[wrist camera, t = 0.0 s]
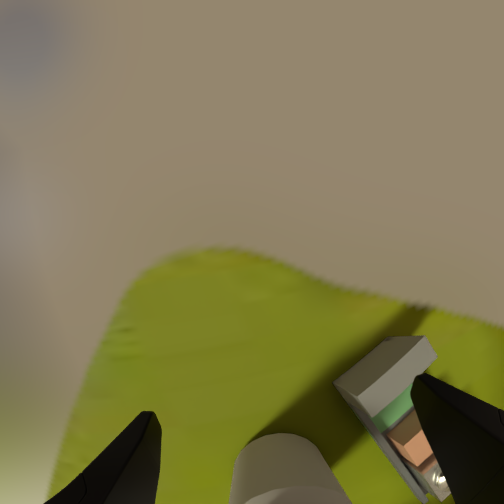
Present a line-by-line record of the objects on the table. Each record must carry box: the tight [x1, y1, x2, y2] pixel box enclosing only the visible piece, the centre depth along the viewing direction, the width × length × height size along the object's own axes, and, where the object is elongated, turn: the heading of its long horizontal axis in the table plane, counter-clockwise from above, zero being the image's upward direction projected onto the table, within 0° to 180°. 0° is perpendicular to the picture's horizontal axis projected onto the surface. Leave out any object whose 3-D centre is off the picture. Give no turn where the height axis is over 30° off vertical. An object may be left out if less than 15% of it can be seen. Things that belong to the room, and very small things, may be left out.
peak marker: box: [386, 410, 433, 467], centre depth 19 cm, size 3×4×4 cm
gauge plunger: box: [401, 453, 451, 502], centre depth 17 cm, size 5×4×5 cm
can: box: [229, 433, 352, 504], centre depth 15 cm, size 8×8×12 cm
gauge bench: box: [332, 336, 438, 504], centre depth 18 cm, size 18×6×6 cm, turn 35°
